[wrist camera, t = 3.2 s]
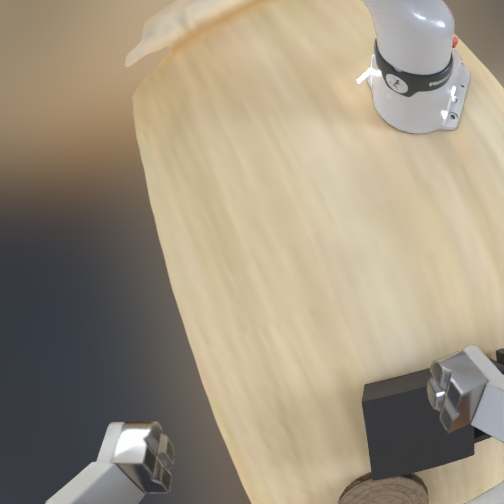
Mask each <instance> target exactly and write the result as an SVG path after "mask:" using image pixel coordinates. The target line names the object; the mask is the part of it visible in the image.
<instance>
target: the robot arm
mask: <svg viewBox="0 0 504 504" xmlns="http://www.w3.org/2000/svg"><path fill="white" fill-rule="evenodd" d="M362 1H363V2H364V4H365V5H366V6H367V8H368V9H369V11H370V14H371V17H372V20H373V24H374V28H375V33H376V39H375V47H374V54H373V55H372V57H371V68H370V69H369V70H368V71H367V72H365V73H364V74H363V75H362V76H361V77H360V78H358V79H357V82H358V83H360V82H361V81H362V80H363V79H364V78H366V77H367V83H368V84H369V86H370V88H371V89H372V94H373V103H374V106H375V108H376V110H377V112H378V113H379V115H380V116H381V117H382V118H383V119H384V120H385V121H386V122H387V123H388V124H390V125H391V126H393V127H395V128H397V129H399V130H402V131H405V132H409V133H416V134H422V133H428V132H432V131H435V130H439V129H442V130H455V129H456V128H457V126H458V123H459V119H460V115H461V112H462V108H463V104H464V100H465V96H466V92H467V88H468V84H469V80H470V71H469V70H468V69H467V67H466V66H465V65H464V64H463V63H462V58H461V56H460V54H459V53H458V52H457V51H456V50H454V49H453V48H455V47H456V45H457V42H458V38H457V37H454V29H455V22H454V18H453V15H452V13H451V11H450V9H449V8H448V6H447V5H446V4H445V3H444V2H443V1H442V0H362ZM451 117H454V119H452V118H451ZM430 372H431V373H432V377H431V378H430V379H429V381H428V384H427V394H428V398H429V401H430V403H431V405H432V407H433V409H436V410H438V411H440V412H441V413H440V418H439V419H440V421H441V422H442V424H443V426H444V427H445V429H446V431H447V432H448V434H449V433H451V432H453V431H455V430H458V429H460V428H462V427H464V426H466V425H468V424H471V425H472V426H474V427H476V428H478V429H480V430H481V431H483V432H485V433H487V434H489V435H490V436H492V437H494V438H496V439H498V440H499V441H501V442H503V443H504V374H502V373H501V372H500V371H499V370H498V369H497V367H496V366H495V365H494V364H493V363H492V362H491V361H490V360H489V358H488V357H487V356H486V355H485V354H484V353H483V352H482V351H481V350H480V349H479V347H478V346H476V345H474V344H473V345H471V346H468V347H466V348H464V349H462V350H460V351H456V352H454V353H452V354H449V355H447V356H445V357H442V358H440V359H437V360H435V361H433V362H432V364H431V367H430ZM161 433H162V427H161V426H160V425H159V423H158V422H112V423H111V424H110V425H109V426H108V428H107V431H106V434H105V437H104V440H103V443H102V446H101V449H100V452H99V455H98V458H97V461H96V462H92V463H91V464H89V465H88V466H87V467H86V468H85V469H84V470H83V471H81V472H80V473H79V474H78V475H77V476H76V477H75V478H73V479H72V480H71V481H70V482H69V483H68V484H67V485H65V486H64V487H63V488H62V489H61V490H59V491H58V492H57V493H56V494H55V495H53V496H52V497H51V498H50V499H49V500H47V501H46V504H138V503H139V502H140V500H141V499H142V498H143V496H144V495H145V494H144V493H170V487H171V479H172V475H171V474H170V472H169V471H168V470H169V469H170V468H171V467H172V466H173V464H174V457H175V456H174V448H173V445H172V443H171V441H170V439H169V438H168V437H167V436H165V435H163V434H161ZM465 504H504V481H503V482H501V483H500V484H498V485H496V486H495V487H493V488H492V489H490V490H488V491H486V492H485V493H483V494H481V495H480V496H478V497H476V498H474V499H472V500H471V501H469V502H467V503H465Z"/></svg>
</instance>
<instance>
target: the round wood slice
mask: <svg viewBox="0 0 504 504" xmlns="http://www.w3.org/2000/svg"><path fill="white" fill-rule="evenodd" d="M338 504H429V498H428V492H427V487H426V486H425V484H424V483H423V481H422V479H421V478H419V477H418V476H416V475H415V474H413V473H409V474H405V475H400V476H396V477H391V478H386V479H380V480H375V481H373V480H372V472H370V473H368V474H366V475H364V476H361V477H359V478H357V479H356V480H355V481H353V482H352V483H351V484H350V485H349V486H347V487H346V489H345V490H344V492H343V493H342V495H341V496H340V499H339V502H338Z"/></svg>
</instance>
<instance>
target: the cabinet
mask: <svg viewBox="0 0 504 504" xmlns="http://www.w3.org/2000/svg"><path fill="white" fill-rule="evenodd" d="M431 377H432V373H431V372H430V368H428V369H425V370H421V371H418V372H414V373H410V374H407V375H403V376H399V377H395V378H391V379H387V380H383V381H379V382H374V383H370V384H365V386H364V392H363V398H362V407H363V413H364V420H365V426H366V433H367V440H368V448H369V455H370V463H371V472H372V480H373V481H375V480H380V479H386V478H391V477H396V476H400V475H405V474H409V473H414V472H418V471H422V470H426V469H430V468H433V467H437V466H440V465H444V464H447V463H451V462H454V461H457V460H460V459H463V458H466V457H469V456H472V455H474V426H472V425H471V424H468V425H466V426H464V427H462V428H460V429H458V430H455V431H453V432H451V433H449V434H448V432H447V431H446V429H445V427H444V426H443V424H442V422H441V421H440V419H439V418H440V413H441V412H440V411H438V410H436V409H433V407H432V405H431V403H430V401H429V398H428V394H427V384H428V381H429V379H430V378H431Z"/></svg>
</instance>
